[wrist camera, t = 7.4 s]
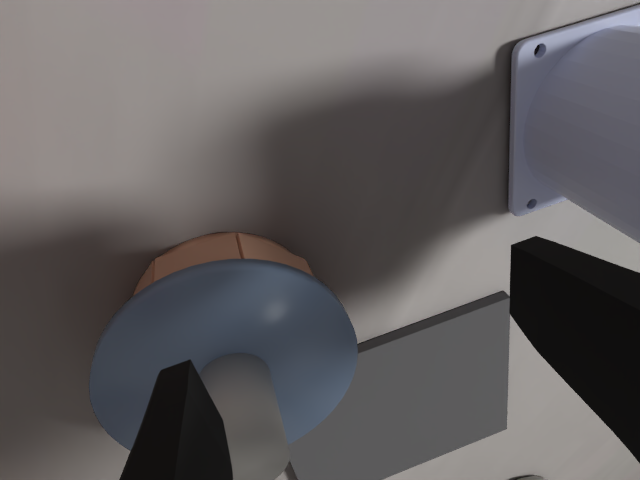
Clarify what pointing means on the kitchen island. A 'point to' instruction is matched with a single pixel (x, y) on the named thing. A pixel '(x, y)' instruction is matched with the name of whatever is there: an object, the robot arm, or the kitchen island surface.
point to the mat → (415, 396)
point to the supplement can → (532, 478)
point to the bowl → (219, 254)
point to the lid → (231, 355)
